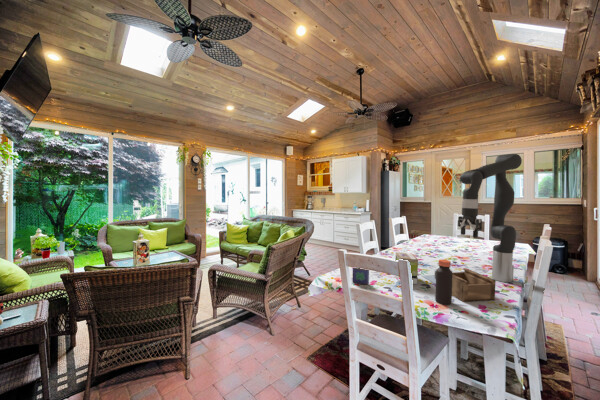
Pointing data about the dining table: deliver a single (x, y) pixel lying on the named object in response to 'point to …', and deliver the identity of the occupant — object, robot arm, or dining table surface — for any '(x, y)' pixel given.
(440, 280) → the bottle
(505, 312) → the dining table surface
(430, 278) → the cover plate
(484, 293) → the walnut box
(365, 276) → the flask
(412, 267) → the tea box
